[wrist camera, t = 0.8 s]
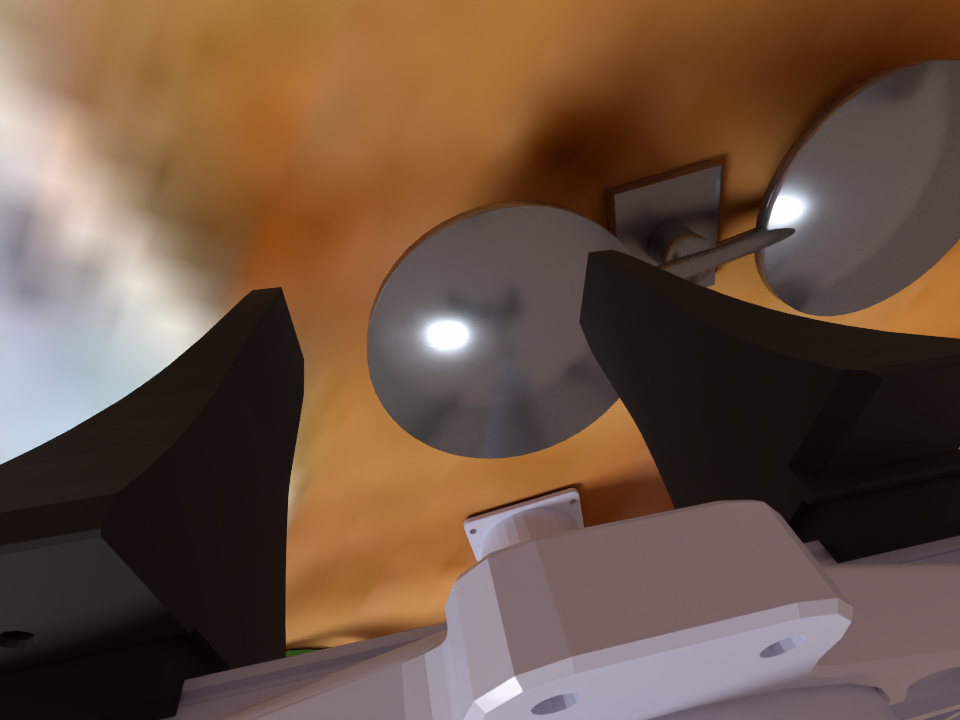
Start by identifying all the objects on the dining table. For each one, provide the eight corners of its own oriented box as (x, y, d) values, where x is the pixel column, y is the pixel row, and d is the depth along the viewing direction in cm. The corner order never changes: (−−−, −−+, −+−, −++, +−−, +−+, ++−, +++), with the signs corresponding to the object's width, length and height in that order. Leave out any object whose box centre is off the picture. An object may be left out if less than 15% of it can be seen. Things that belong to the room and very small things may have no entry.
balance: (901, 258, 28) (1021, 308, 22) (409, 401, 27) (417, 486, 22) (970, 28, 21) (1159, 23, 16) (331, 205, 21) (317, 260, 15)
